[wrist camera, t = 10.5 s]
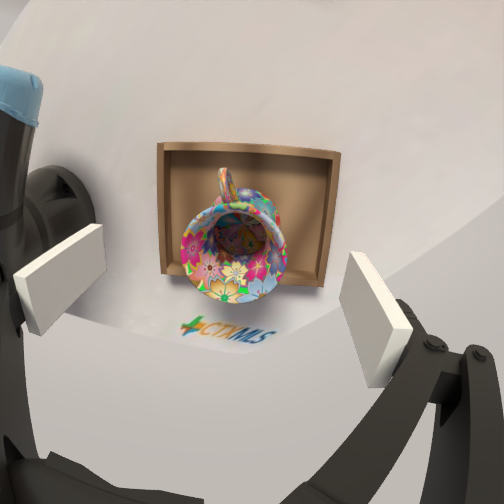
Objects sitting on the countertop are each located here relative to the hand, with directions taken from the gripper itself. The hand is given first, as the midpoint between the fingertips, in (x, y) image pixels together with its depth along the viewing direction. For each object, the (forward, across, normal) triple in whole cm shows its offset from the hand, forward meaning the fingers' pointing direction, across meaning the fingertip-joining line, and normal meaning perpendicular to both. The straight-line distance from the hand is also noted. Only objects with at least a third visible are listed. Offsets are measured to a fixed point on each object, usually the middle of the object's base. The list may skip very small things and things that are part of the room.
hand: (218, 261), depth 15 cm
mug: (+21, 0, -3) cm, 21 cm away
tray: (+21, 0, -3) cm, 21 cm away
